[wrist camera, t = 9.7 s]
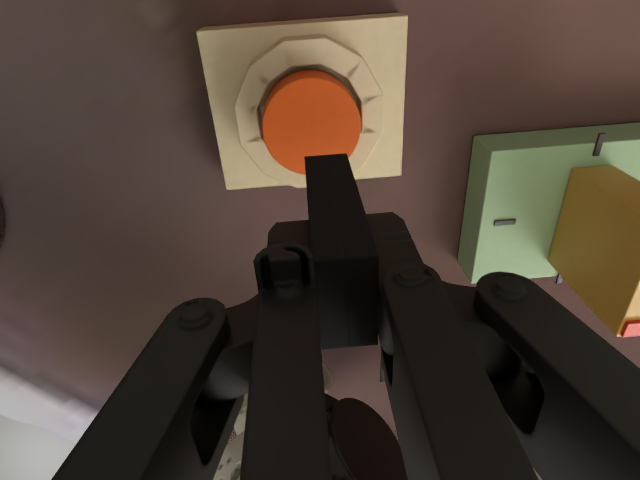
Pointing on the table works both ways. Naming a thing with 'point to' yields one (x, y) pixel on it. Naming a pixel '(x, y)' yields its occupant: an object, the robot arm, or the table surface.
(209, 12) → the table surface
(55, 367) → the table surface
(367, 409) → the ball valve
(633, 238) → the yellow rectangular block
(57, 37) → the table surface
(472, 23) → the table surface
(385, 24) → the beige button mount
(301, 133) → the bell button
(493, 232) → the plate
